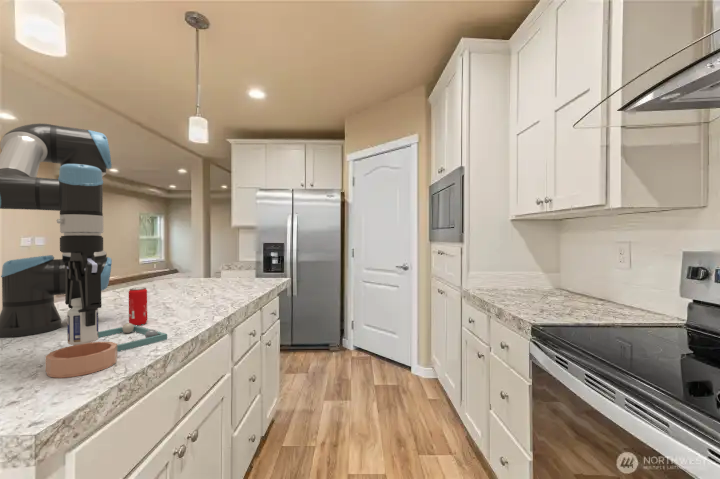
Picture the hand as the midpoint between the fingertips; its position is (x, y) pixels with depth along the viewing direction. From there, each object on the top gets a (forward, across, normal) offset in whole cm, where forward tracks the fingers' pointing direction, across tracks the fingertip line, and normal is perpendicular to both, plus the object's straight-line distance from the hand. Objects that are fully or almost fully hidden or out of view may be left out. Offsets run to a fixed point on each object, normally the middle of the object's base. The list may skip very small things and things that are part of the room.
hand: (83, 338), depth 75 cm
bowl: (+6, 0, 0) cm, 6 cm away
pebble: (+6, -22, +18) cm, 29 cm away
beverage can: (+7, -31, +25) cm, 40 cm away
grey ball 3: (+6, -8, +18) cm, 21 cm away
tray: (+6, -15, +13) cm, 21 cm away
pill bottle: (+1, 0, 0) cm, 1 cm away
